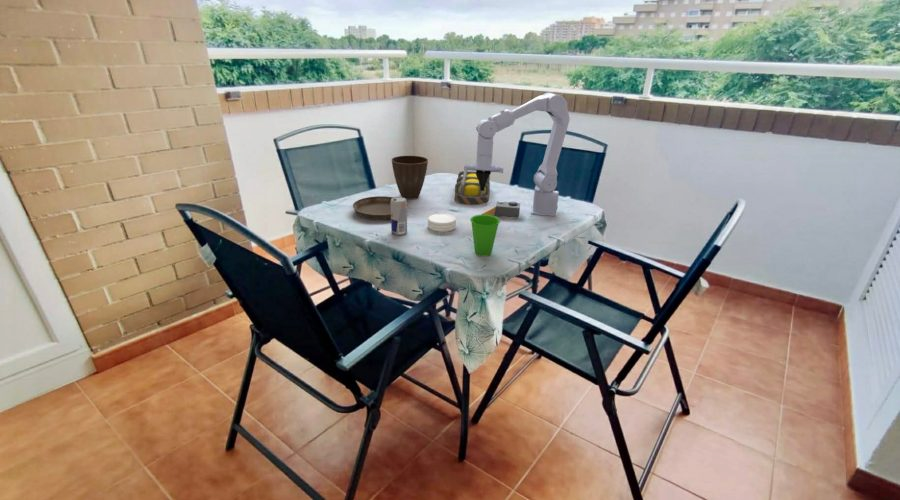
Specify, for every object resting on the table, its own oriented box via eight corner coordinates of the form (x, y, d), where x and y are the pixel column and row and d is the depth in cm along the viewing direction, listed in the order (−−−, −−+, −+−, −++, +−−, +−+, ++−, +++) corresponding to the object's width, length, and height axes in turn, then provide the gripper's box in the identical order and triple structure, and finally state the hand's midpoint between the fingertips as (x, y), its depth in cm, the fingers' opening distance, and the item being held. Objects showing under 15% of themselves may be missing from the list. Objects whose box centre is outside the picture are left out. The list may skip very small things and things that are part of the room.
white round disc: (453, 221, 160) (453, 212, 158) (458, 231, 151) (458, 222, 149) (426, 222, 158) (426, 213, 156) (429, 233, 149) (429, 223, 147)
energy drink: (392, 229, 151) (391, 196, 146) (408, 229, 151) (407, 196, 146) (390, 235, 146) (389, 201, 141) (406, 235, 146) (405, 202, 141)
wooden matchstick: (482, 222, 157) (483, 213, 156) (480, 221, 157) (481, 213, 156) (495, 214, 164) (496, 206, 163) (493, 214, 165) (494, 206, 164)
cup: (464, 255, 133) (466, 222, 128) (473, 244, 141) (475, 212, 136) (493, 260, 130) (495, 227, 125) (500, 249, 138) (503, 216, 133)
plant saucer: (418, 212, 167) (418, 204, 166) (376, 226, 153) (376, 218, 152) (383, 200, 180) (383, 192, 178) (342, 212, 166) (341, 204, 164)
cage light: (453, 185, 174) (458, 167, 201) (453, 204, 177) (458, 184, 204) (490, 187, 173) (490, 168, 200) (488, 206, 176) (489, 185, 203)
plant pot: (413, 189, 194) (412, 153, 187) (435, 197, 184) (435, 160, 177) (385, 195, 184) (384, 158, 178) (407, 204, 175) (406, 165, 168)
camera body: (519, 212, 169) (520, 201, 167) (518, 219, 163) (519, 207, 161) (494, 210, 171) (495, 199, 169) (492, 216, 164) (493, 205, 162)
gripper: (505, 153, 160) (502, 188, 166) (466, 150, 162) (465, 185, 168) (503, 157, 154) (501, 193, 159) (463, 154, 156) (462, 190, 162)
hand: (482, 190), depth 163 cm, fingers closed
